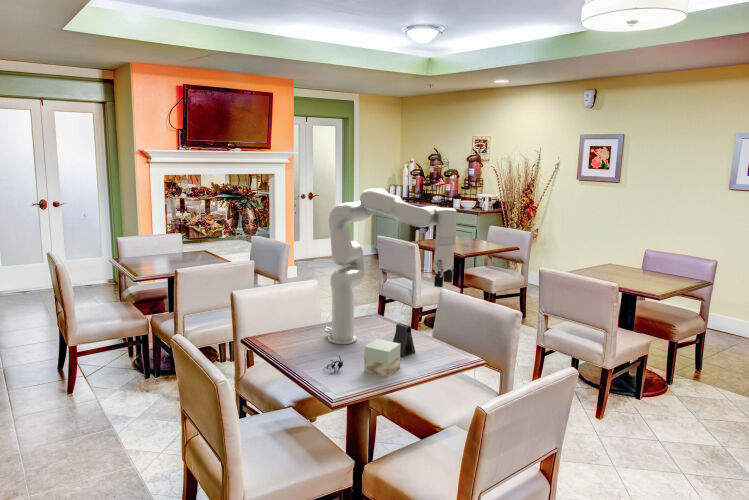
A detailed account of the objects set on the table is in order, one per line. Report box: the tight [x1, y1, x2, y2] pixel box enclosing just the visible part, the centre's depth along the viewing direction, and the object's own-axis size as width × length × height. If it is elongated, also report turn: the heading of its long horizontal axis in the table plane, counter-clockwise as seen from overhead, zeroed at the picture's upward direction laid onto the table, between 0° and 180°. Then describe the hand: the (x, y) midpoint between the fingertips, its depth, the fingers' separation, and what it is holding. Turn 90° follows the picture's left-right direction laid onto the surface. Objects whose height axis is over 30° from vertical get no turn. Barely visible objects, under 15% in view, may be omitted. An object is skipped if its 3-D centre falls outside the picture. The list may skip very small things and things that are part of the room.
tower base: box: [363, 357, 401, 378], centre depth 204 cm, size 10×10×5 cm
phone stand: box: [392, 322, 416, 358], centre depth 221 cm, size 9×6×12 cm, turn 133°
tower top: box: [363, 338, 401, 365], centre depth 204 cm, size 10×10×5 cm
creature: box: [322, 355, 345, 375], centre depth 202 cm, size 8×5×8 cm
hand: (443, 284), depth 210 cm, fingers open, 9 cm apart
